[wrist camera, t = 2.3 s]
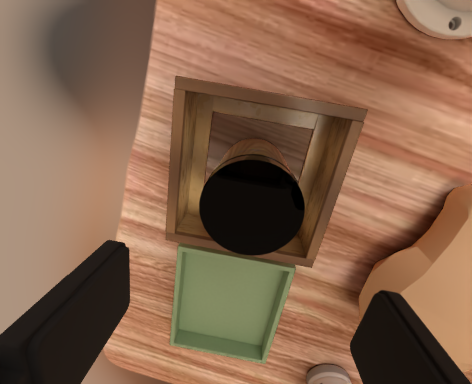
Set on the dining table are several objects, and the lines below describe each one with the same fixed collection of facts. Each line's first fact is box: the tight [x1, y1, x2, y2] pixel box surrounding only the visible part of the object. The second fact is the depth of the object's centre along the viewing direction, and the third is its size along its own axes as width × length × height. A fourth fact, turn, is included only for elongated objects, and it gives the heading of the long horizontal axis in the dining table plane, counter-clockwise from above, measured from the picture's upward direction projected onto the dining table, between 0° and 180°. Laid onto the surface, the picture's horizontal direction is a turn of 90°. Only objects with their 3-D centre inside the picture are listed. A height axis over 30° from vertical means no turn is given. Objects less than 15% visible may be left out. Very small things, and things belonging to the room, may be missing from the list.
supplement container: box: [199, 138, 305, 256], centre depth 19 cm, size 7×7×10 cm
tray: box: [170, 243, 296, 364], centre depth 29 cm, size 16×13×3 cm
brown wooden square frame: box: [166, 76, 368, 268], centre depth 22 cm, size 15×15×5 cm
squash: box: [359, 184, 472, 372], centre depth 23 cm, size 11×20×9 cm, turn 162°
